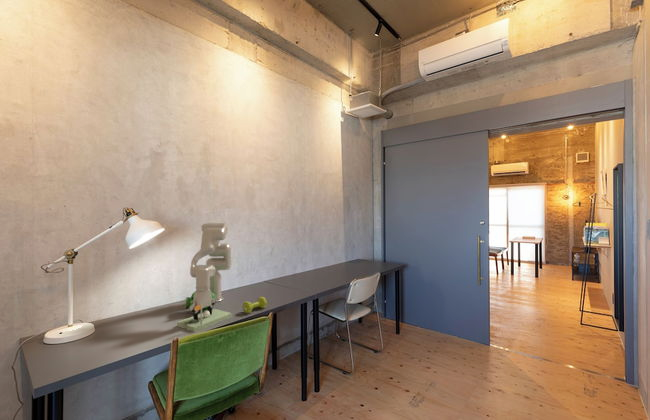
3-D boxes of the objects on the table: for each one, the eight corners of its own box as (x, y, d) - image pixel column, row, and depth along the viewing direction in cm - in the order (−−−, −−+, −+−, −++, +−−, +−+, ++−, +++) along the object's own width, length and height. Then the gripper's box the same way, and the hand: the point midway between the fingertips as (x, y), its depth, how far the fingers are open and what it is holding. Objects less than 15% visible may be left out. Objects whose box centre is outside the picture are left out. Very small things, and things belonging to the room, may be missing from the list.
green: (177, 326, 171) (177, 302, 171) (214, 312, 193) (214, 291, 193) (194, 332, 162) (194, 306, 162) (231, 317, 185) (231, 295, 185)
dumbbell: (248, 315, 189) (248, 304, 189) (240, 312, 194) (240, 301, 194) (268, 308, 202) (268, 297, 202) (260, 305, 207) (260, 295, 207)
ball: (206, 308, 181) (207, 315, 181) (201, 311, 177) (201, 317, 178) (211, 310, 179) (211, 316, 179) (205, 312, 175) (205, 318, 176)
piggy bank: (187, 309, 199) (186, 287, 199) (215, 306, 206) (215, 284, 205) (185, 316, 186) (185, 293, 186) (215, 313, 192) (215, 290, 192)
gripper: (210, 284, 185) (211, 311, 185) (185, 290, 171) (185, 320, 171) (218, 285, 182) (219, 313, 182) (193, 292, 167) (194, 322, 167)
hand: (202, 316), depth 176 cm, fingers open, 9 cm apart
